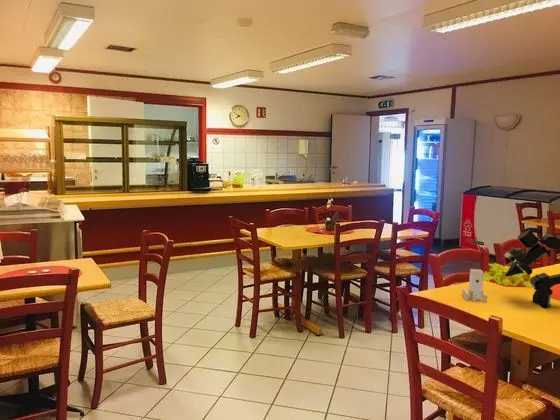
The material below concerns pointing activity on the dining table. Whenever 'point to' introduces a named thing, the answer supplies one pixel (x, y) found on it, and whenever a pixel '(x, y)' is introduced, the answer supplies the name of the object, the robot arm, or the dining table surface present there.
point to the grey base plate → (473, 296)
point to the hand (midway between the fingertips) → (505, 275)
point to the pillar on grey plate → (476, 283)
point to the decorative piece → (501, 279)
